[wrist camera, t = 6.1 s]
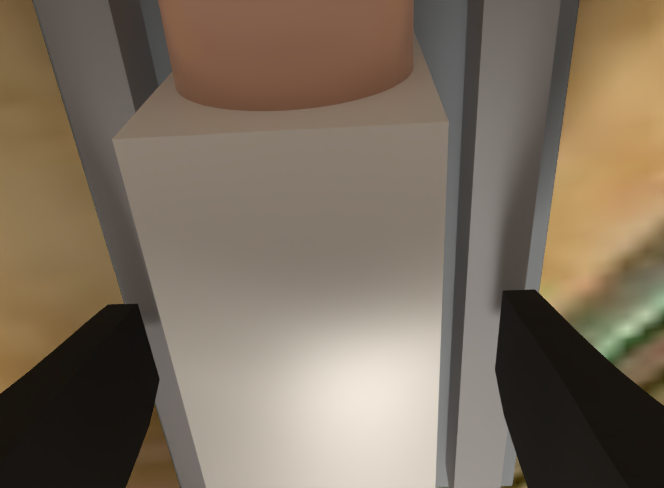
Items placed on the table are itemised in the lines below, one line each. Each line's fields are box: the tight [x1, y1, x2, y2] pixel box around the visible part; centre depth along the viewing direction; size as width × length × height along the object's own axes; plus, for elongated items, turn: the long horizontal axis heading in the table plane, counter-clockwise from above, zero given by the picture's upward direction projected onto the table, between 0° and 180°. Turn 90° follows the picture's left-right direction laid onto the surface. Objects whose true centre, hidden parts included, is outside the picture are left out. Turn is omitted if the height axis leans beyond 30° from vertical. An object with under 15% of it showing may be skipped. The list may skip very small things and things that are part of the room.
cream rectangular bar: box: [112, 0, 449, 488], centre depth 12 cm, size 13×4×5 cm, turn 4°
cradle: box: [32, 0, 579, 488], centre depth 14 cm, size 16×10×2 cm, turn 4°
